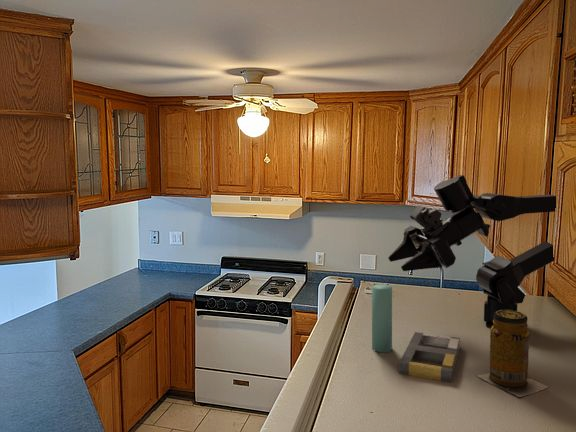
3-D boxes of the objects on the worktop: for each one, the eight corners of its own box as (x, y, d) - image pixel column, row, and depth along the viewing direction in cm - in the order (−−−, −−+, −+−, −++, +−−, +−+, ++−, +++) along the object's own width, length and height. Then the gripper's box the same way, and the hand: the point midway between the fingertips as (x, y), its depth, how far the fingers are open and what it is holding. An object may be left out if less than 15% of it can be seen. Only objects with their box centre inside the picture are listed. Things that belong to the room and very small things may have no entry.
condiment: (505, 368, 84) (507, 305, 83) (548, 388, 77) (551, 319, 75) (476, 377, 81) (478, 312, 80) (519, 399, 74) (521, 327, 72)
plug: (394, 346, 95) (394, 285, 94) (389, 354, 92) (389, 291, 90) (375, 343, 97) (374, 283, 95) (369, 350, 93) (369, 289, 92)
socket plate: (459, 347, 94) (460, 336, 94) (451, 382, 80) (451, 369, 79) (415, 340, 98) (415, 330, 97) (399, 373, 83) (399, 361, 83)
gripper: (423, 194, 110) (367, 227, 110) (458, 201, 92) (391, 241, 92) (444, 233, 112) (389, 266, 112) (482, 248, 93) (416, 287, 93)
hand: (395, 264), depth 102 cm, fingers open, 9 cm apart
